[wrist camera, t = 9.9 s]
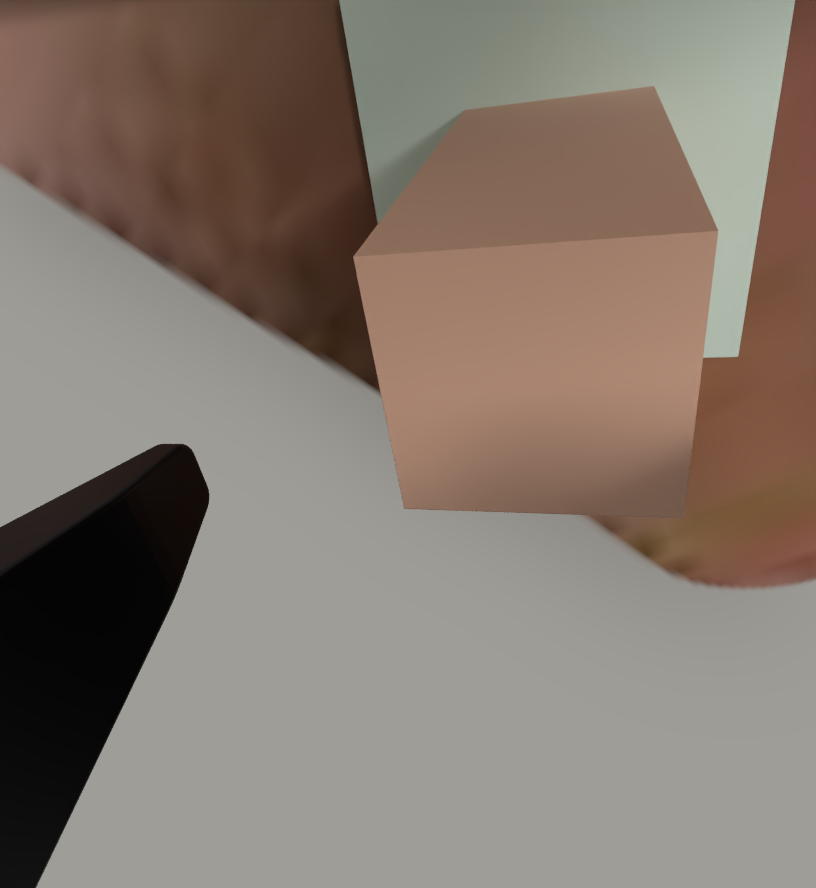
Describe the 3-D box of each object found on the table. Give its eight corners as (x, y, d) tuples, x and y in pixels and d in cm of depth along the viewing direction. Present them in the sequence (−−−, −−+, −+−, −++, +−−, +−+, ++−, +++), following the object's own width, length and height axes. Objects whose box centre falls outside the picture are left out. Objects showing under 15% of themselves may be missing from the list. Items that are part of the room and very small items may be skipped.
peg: (654, 85, 15) (717, 230, 8) (643, 270, 18) (683, 518, 10) (464, 109, 17) (352, 256, 9) (480, 279, 19) (403, 508, 11)
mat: (803, -85, 13) (808, -85, 13) (735, 349, 19) (738, 356, 19) (343, -4, 16) (338, -3, 16) (404, 358, 22) (401, 363, 21)
